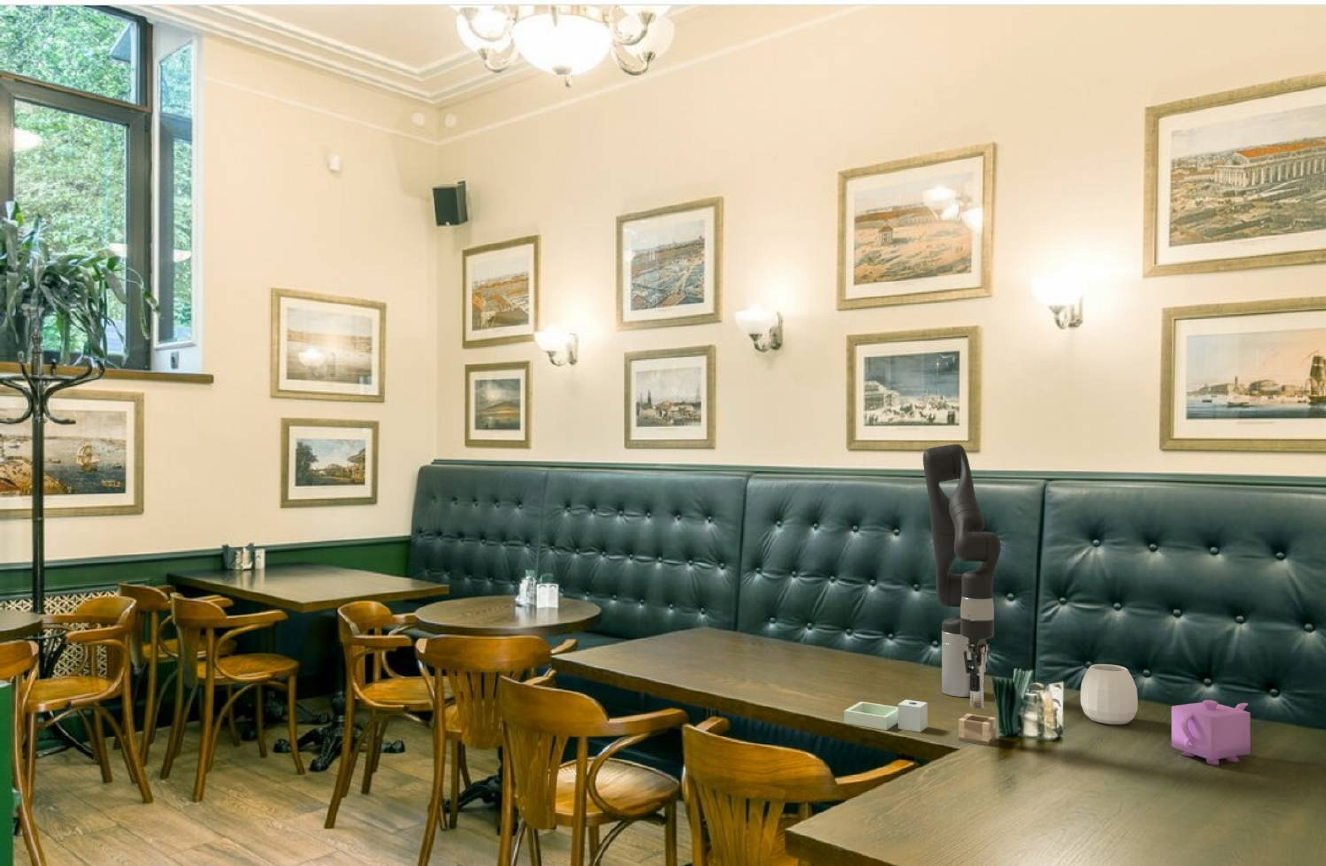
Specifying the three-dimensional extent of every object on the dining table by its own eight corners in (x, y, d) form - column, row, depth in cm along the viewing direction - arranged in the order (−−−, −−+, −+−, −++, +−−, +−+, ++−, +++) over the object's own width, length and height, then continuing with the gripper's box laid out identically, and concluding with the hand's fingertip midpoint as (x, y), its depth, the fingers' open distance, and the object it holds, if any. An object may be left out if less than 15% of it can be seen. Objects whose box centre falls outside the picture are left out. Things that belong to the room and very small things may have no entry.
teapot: (1202, 768, 214) (1202, 709, 214) (1163, 754, 224) (1163, 698, 224) (1268, 758, 222) (1268, 701, 222) (1227, 745, 231) (1227, 691, 231)
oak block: (967, 734, 239) (967, 713, 240) (995, 738, 236) (995, 717, 236) (958, 741, 234) (958, 719, 234) (988, 745, 230) (988, 724, 230)
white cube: (905, 723, 248) (905, 699, 248) (927, 727, 245) (927, 702, 245) (898, 728, 244) (898, 703, 244) (919, 732, 241) (919, 707, 241)
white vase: (1137, 717, 255) (1137, 665, 255) (1138, 730, 243) (1138, 675, 243) (1081, 711, 260) (1081, 660, 260) (1079, 724, 248) (1079, 670, 248)
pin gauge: (972, 704, 237) (972, 654, 237) (985, 706, 235) (985, 655, 236) (968, 707, 234) (968, 656, 235) (981, 709, 233) (981, 657, 233)
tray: (860, 713, 257) (861, 701, 257) (902, 720, 251) (902, 707, 251) (844, 723, 248) (844, 710, 248) (886, 730, 242) (886, 717, 242)
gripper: (969, 610, 243) (969, 681, 243) (952, 618, 231) (952, 693, 231) (1001, 613, 239) (1001, 686, 239) (984, 621, 227) (984, 697, 227)
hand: (976, 689), depth 235 cm, fingers closed on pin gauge, 3 cm apart
